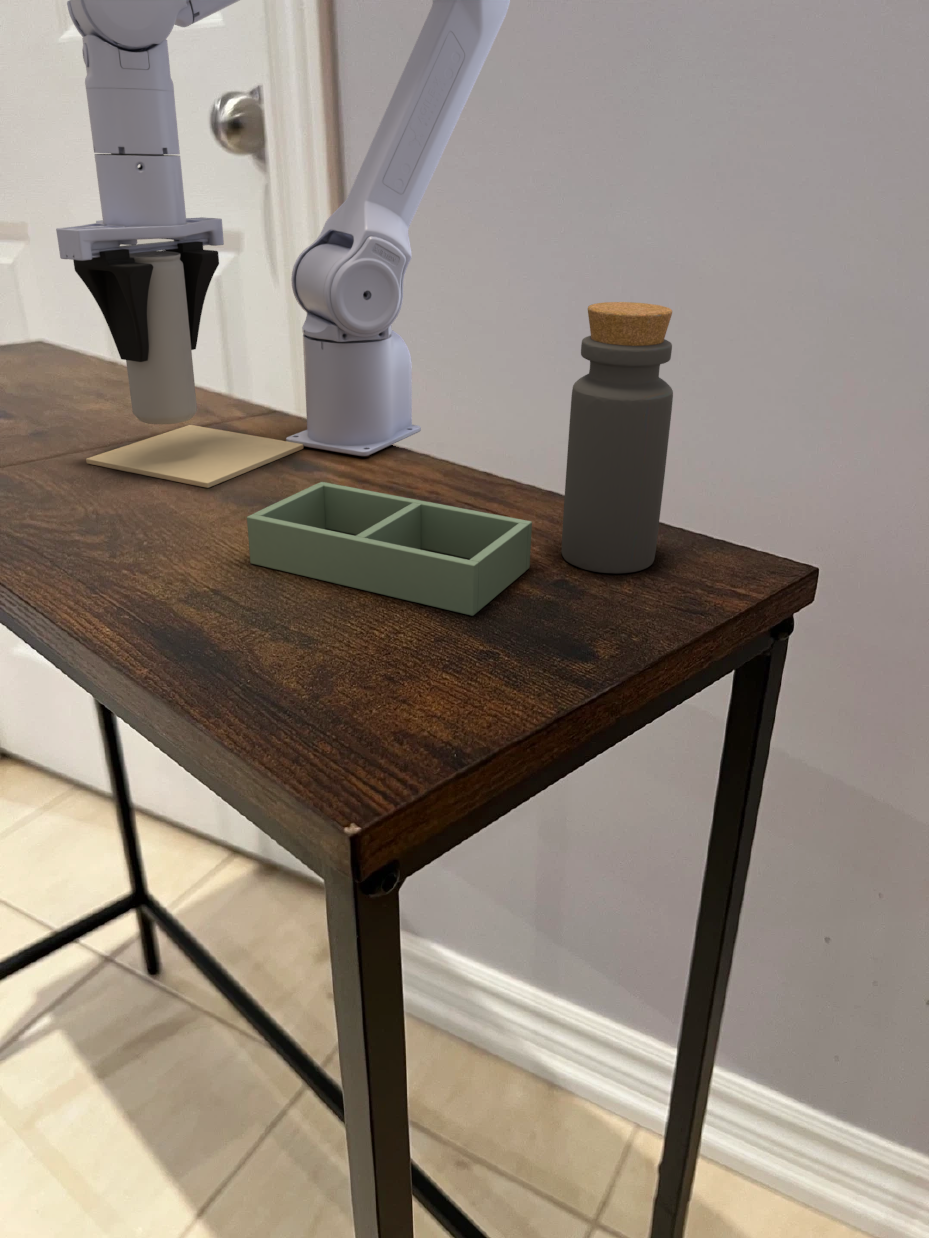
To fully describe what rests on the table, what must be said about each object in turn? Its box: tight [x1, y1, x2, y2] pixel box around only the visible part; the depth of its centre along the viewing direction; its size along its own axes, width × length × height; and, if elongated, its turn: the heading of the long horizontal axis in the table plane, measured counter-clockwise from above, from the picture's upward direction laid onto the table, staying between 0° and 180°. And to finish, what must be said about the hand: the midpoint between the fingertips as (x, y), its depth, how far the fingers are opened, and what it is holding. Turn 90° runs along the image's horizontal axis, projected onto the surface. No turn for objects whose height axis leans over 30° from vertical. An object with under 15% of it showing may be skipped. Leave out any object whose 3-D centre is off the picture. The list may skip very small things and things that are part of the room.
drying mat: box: [85, 424, 304, 489], centre depth 79 cm, size 12×12×1 cm
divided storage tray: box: [246, 481, 533, 617], centre depth 59 cm, size 8×15×3 cm, turn 63°
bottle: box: [561, 301, 674, 575], centre depth 58 cm, size 6×6×15 cm
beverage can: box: [125, 250, 198, 425], centre depth 74 cm, size 5×5×12 cm
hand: (159, 354), depth 74 cm, fingers closed on beverage can, 5 cm apart
